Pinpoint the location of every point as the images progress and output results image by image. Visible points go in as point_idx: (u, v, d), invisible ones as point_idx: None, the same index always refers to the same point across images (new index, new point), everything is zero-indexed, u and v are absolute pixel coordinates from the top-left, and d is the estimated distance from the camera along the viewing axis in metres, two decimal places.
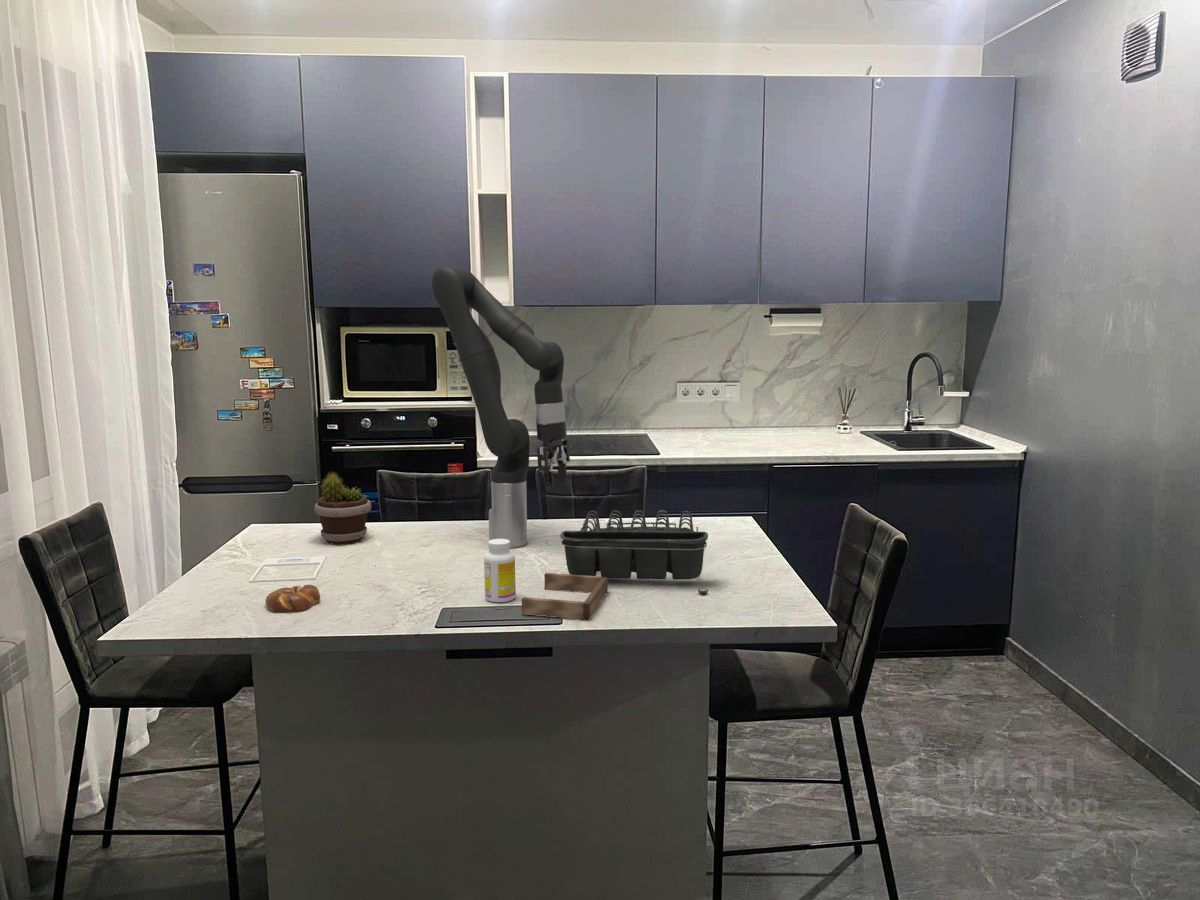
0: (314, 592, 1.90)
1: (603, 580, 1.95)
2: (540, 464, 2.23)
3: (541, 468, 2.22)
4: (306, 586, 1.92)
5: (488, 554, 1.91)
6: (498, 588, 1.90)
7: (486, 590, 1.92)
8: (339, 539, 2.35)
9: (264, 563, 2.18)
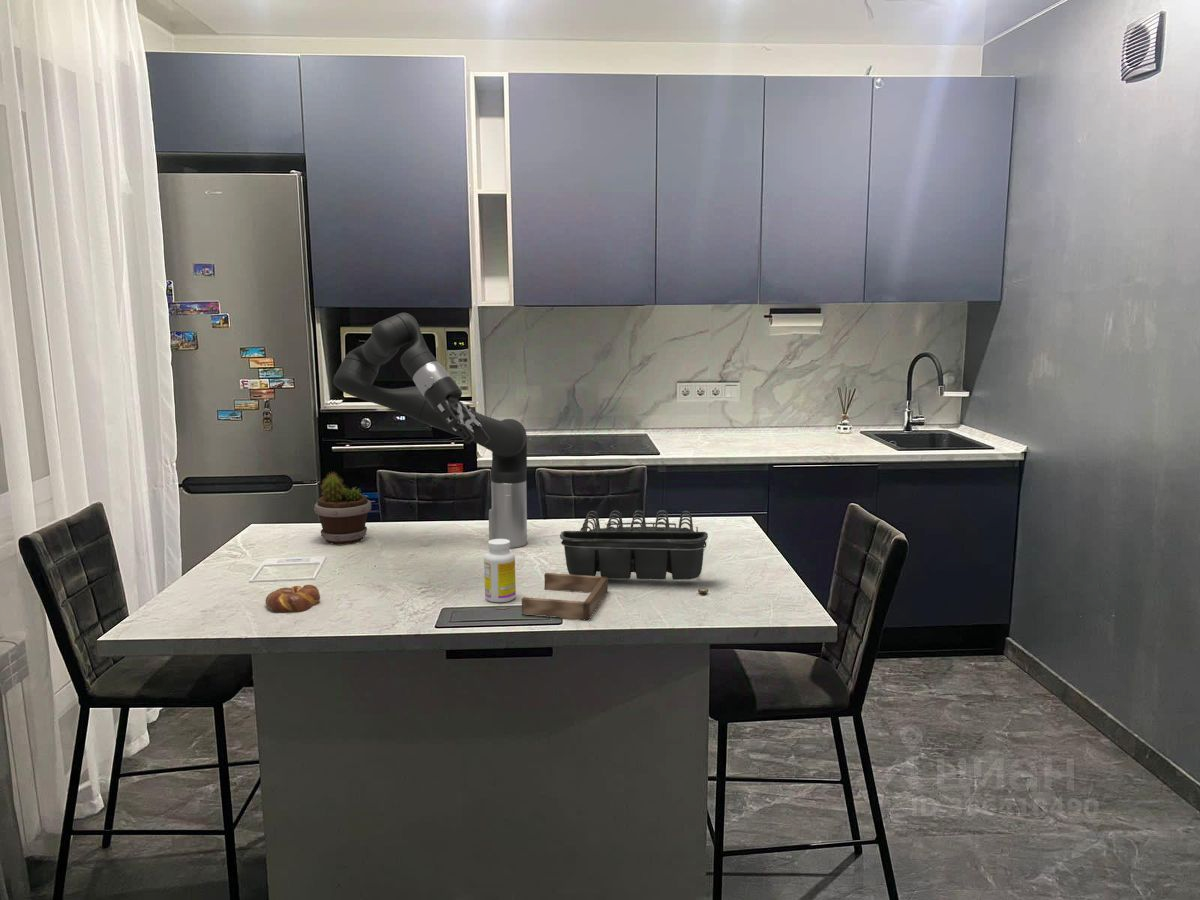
0: (314, 592, 1.90)
1: (603, 580, 1.95)
2: (448, 422, 1.92)
3: (450, 423, 1.91)
4: (306, 586, 1.92)
5: (488, 554, 1.91)
6: (498, 588, 1.90)
7: (486, 590, 1.92)
8: (339, 539, 2.35)
9: (264, 563, 2.18)
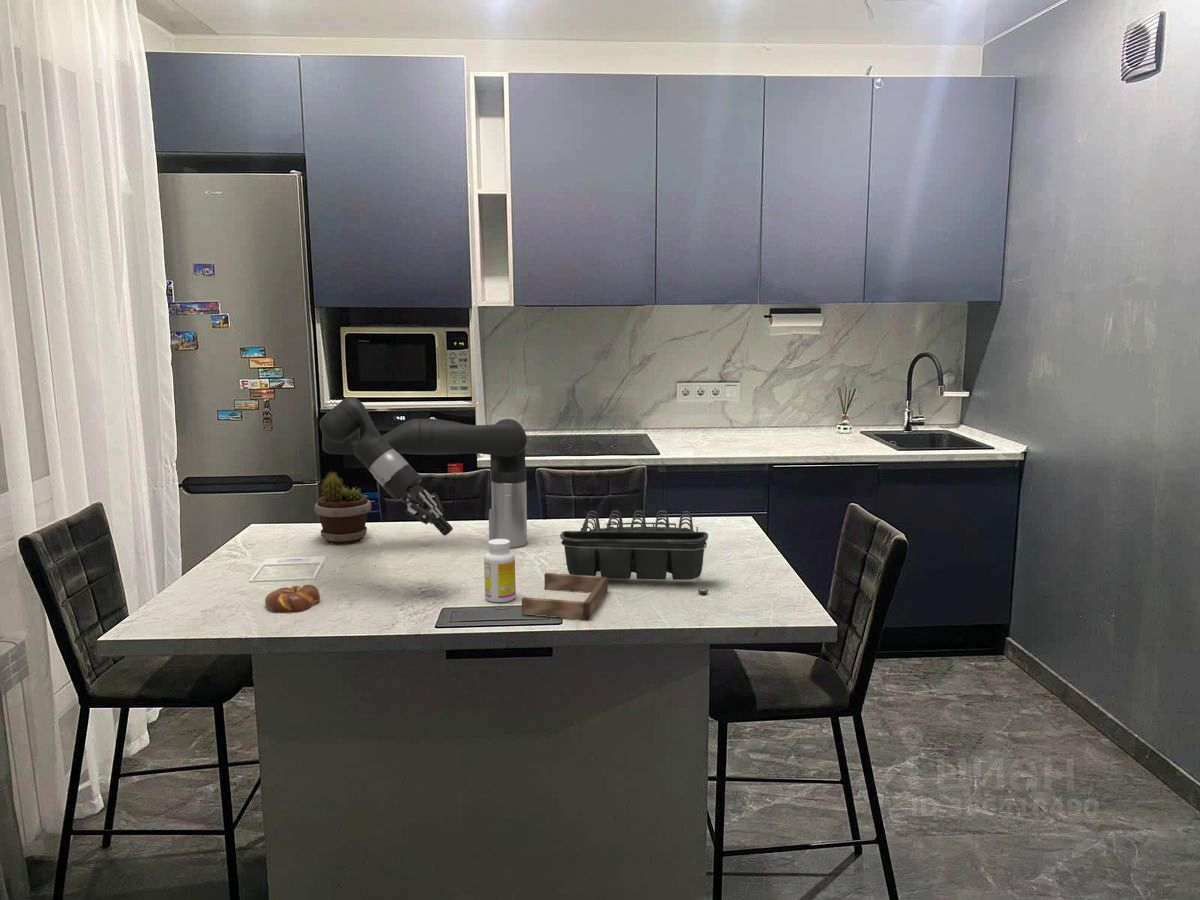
0: (313, 592, 1.90)
1: (603, 580, 1.95)
2: (423, 519, 1.91)
3: (428, 521, 1.91)
4: (306, 586, 1.92)
5: (488, 554, 1.91)
6: (498, 588, 1.90)
7: (486, 590, 1.92)
8: (339, 539, 2.35)
9: (264, 563, 2.18)
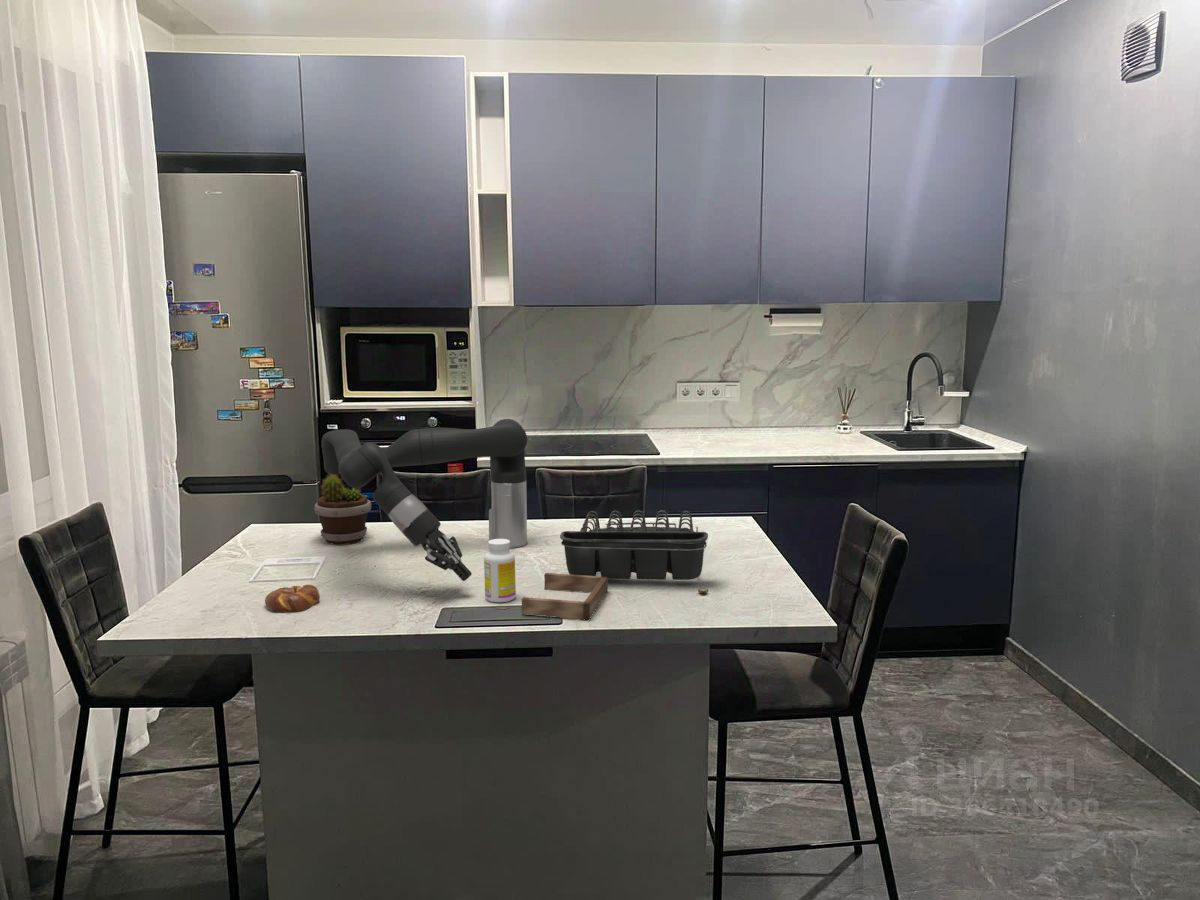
0: (313, 592, 1.90)
1: (603, 580, 1.95)
2: (442, 565, 1.92)
3: (447, 567, 1.92)
4: (306, 586, 1.92)
5: (488, 554, 1.91)
6: (498, 588, 1.90)
7: (486, 590, 1.92)
8: (339, 539, 2.35)
9: (264, 563, 2.18)
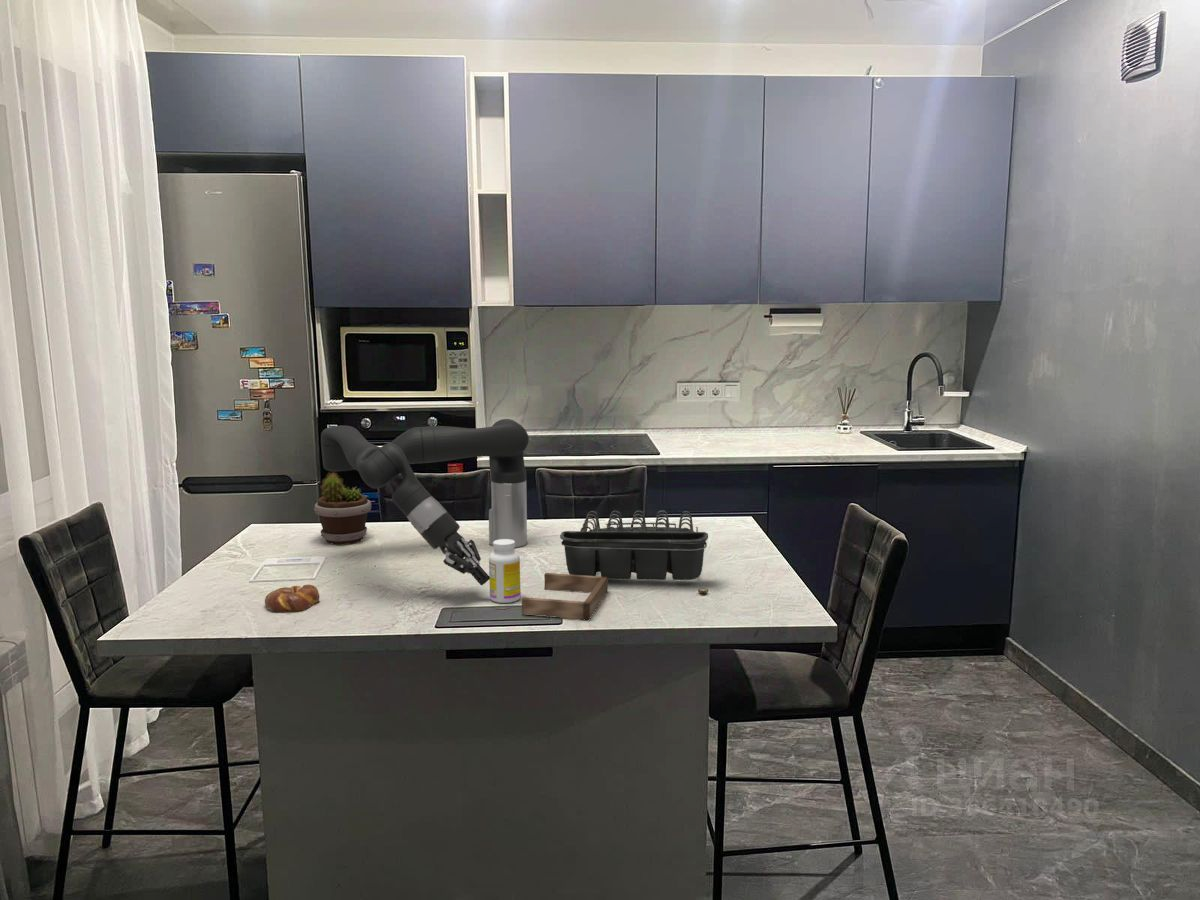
0: (313, 592, 1.90)
1: (603, 580, 1.95)
2: (460, 568, 1.90)
3: (465, 570, 1.90)
4: (305, 586, 1.92)
5: (493, 555, 1.91)
6: (503, 589, 1.90)
7: (491, 591, 1.91)
8: (339, 539, 2.35)
9: (264, 563, 2.18)
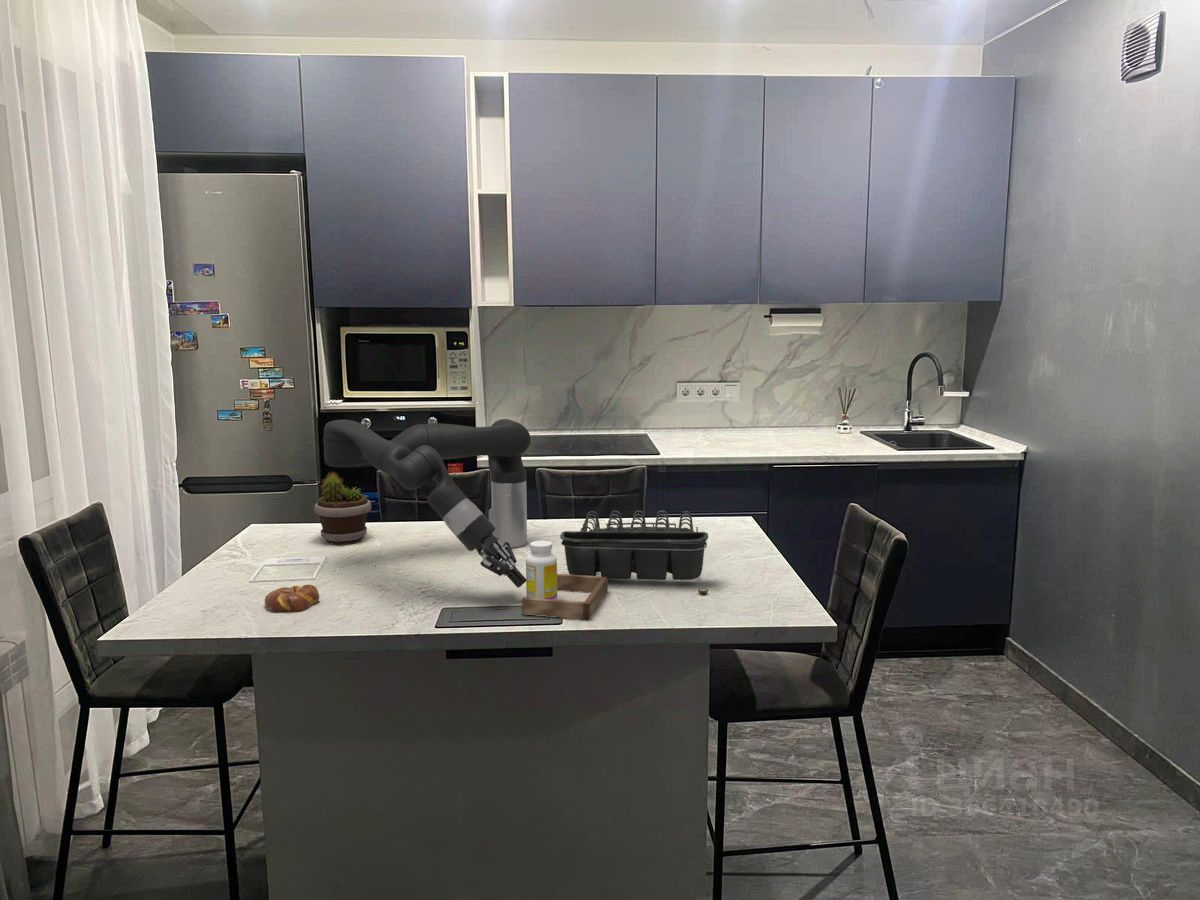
0: (313, 592, 1.90)
1: (603, 580, 1.95)
2: (497, 570, 1.88)
3: (502, 573, 1.88)
4: (305, 586, 1.92)
5: (531, 557, 1.89)
6: (543, 590, 1.89)
7: (530, 593, 1.90)
8: (339, 539, 2.35)
9: (264, 563, 2.18)
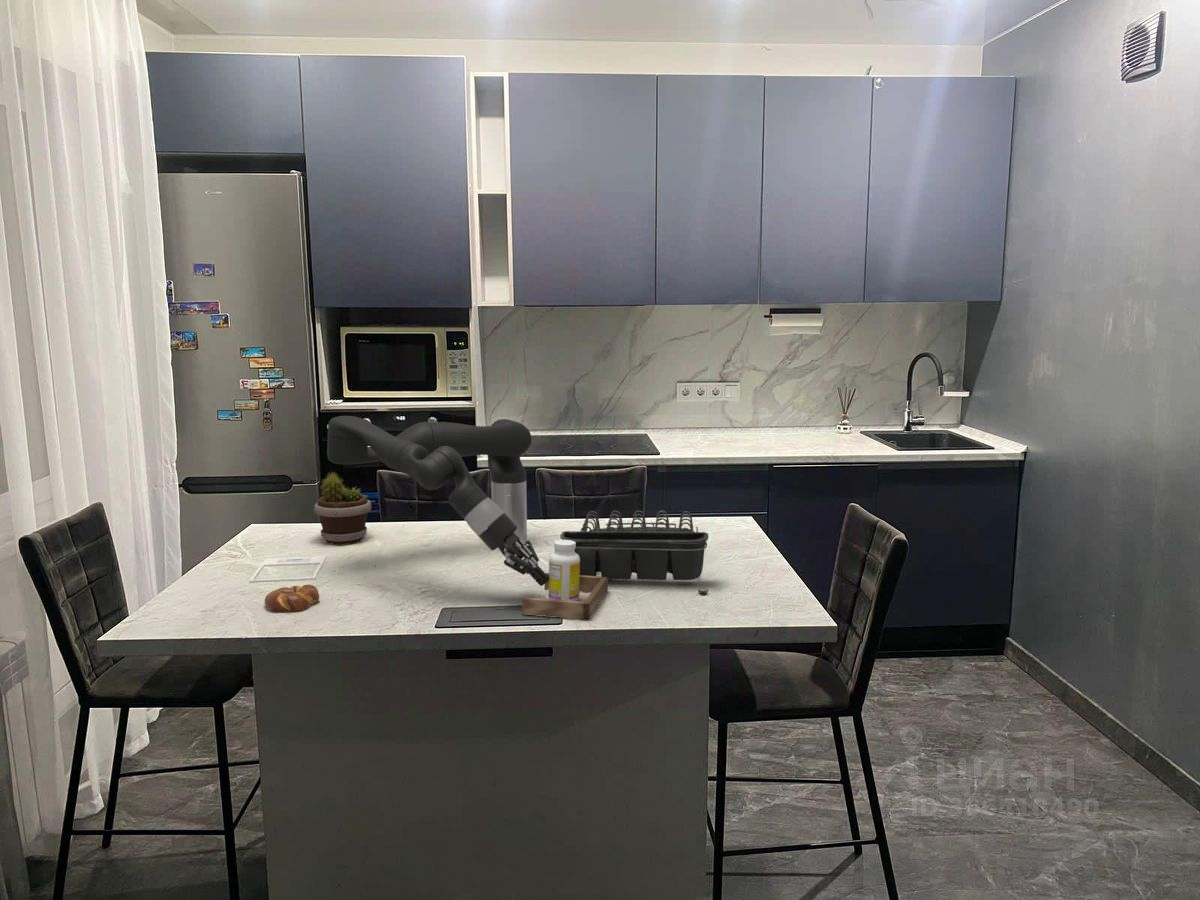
0: (313, 592, 1.90)
1: (603, 580, 1.95)
2: (520, 569, 1.88)
3: (525, 571, 1.88)
4: (305, 586, 1.92)
5: (557, 556, 1.89)
6: (569, 589, 1.89)
7: (554, 592, 1.90)
8: (339, 539, 2.35)
9: (264, 563, 2.18)
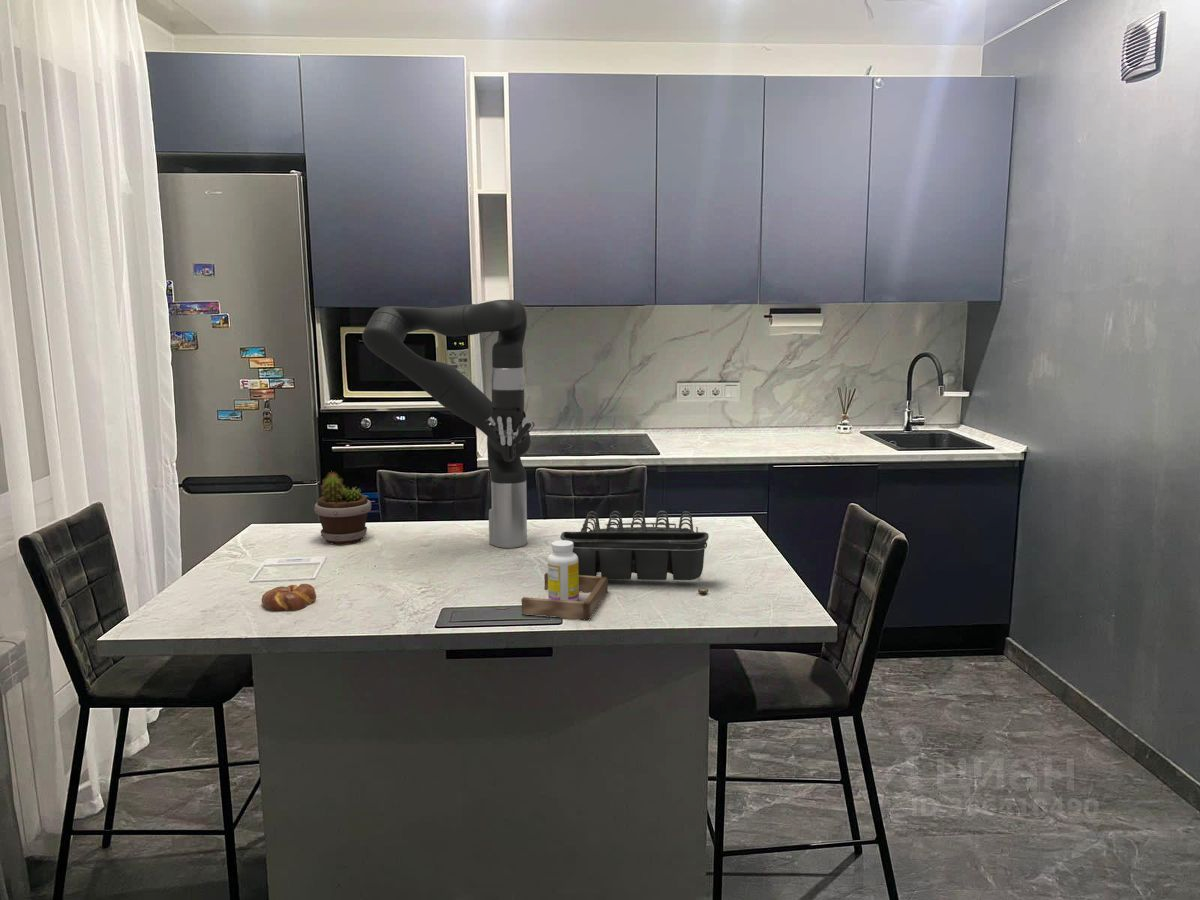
0: (310, 591, 1.90)
1: (603, 580, 1.95)
2: None
3: (519, 442, 2.07)
4: (302, 585, 1.92)
5: (554, 557, 1.89)
6: (568, 590, 1.89)
7: (553, 593, 1.90)
8: (339, 539, 2.35)
9: (264, 563, 2.18)
